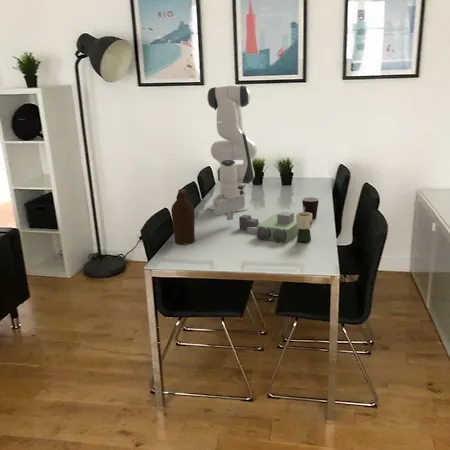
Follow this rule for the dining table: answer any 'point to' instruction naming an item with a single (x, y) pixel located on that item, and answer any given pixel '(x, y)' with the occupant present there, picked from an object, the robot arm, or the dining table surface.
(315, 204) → the coffee mug
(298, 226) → the character mug
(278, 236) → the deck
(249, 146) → the robot arm
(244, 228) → the grey stepped block
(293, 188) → the dining table surface
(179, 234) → the olive oil
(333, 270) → the dining table surface
